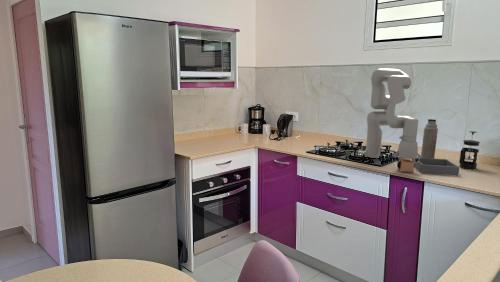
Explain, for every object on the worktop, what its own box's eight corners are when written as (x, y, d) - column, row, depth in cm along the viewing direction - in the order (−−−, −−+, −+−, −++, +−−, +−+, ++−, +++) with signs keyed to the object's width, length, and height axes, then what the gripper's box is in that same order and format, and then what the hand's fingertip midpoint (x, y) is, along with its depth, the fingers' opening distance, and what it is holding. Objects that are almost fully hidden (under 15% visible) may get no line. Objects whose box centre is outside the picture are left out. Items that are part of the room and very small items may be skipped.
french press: (468, 165, 227) (473, 130, 223) (481, 169, 218) (486, 132, 214) (453, 166, 224) (458, 130, 220) (465, 170, 215) (471, 132, 211)
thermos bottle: (436, 162, 233) (441, 120, 228) (426, 162, 231) (431, 120, 226) (427, 159, 241) (432, 118, 236) (417, 159, 239) (422, 118, 234)
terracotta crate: (401, 172, 205) (402, 162, 204) (397, 168, 214) (398, 158, 213) (413, 173, 204) (414, 162, 203) (409, 168, 213) (410, 159, 212)
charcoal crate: (421, 173, 205) (422, 164, 204) (411, 164, 225) (412, 157, 224) (458, 175, 202) (459, 167, 201) (445, 167, 221) (446, 159, 220)
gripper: (394, 139, 203) (391, 169, 207) (427, 141, 200) (423, 171, 204) (392, 136, 210) (388, 166, 214) (423, 138, 207) (419, 168, 211)
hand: (405, 168), depth 209 cm, fingers closed on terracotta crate, 6 cm apart
